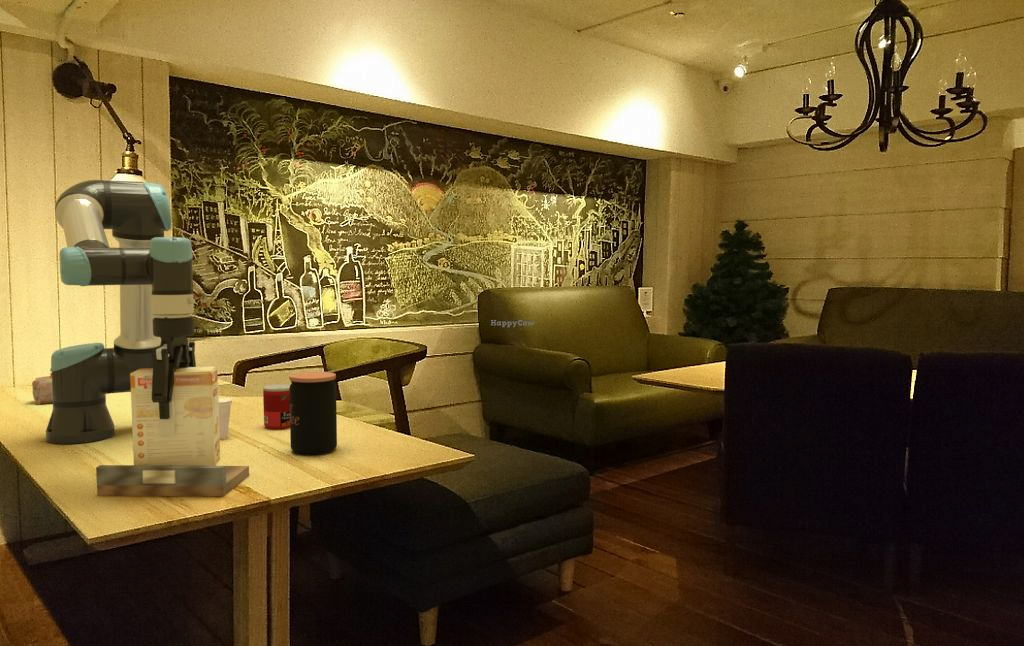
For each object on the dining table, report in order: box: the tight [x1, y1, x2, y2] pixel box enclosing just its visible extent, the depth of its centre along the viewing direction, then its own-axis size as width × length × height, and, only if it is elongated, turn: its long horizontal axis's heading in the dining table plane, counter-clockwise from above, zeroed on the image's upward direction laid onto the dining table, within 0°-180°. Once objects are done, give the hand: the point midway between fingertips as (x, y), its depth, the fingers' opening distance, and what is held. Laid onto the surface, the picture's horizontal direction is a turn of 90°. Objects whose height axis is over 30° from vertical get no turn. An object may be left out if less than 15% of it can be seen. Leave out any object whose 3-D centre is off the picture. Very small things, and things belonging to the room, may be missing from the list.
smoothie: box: [218, 384, 233, 441], centre depth 189 cm, size 6×6×14 cm
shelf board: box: [95, 464, 250, 497], centre depth 150 cm, size 24×14×6 cm, turn 90°
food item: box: [31, 372, 53, 406], centre depth 237 cm, size 14×8×10 cm, turn 125°
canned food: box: [262, 383, 291, 431], centre depth 202 cm, size 8×8×11 cm
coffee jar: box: [289, 371, 338, 456], centre depth 177 cm, size 11×11×18 cm
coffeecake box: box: [130, 365, 221, 466], centre depth 150 cm, size 15×7×20 cm, turn 102°
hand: (177, 429), depth 150 cm, fingers closed on coffeecake box, 8 cm apart
